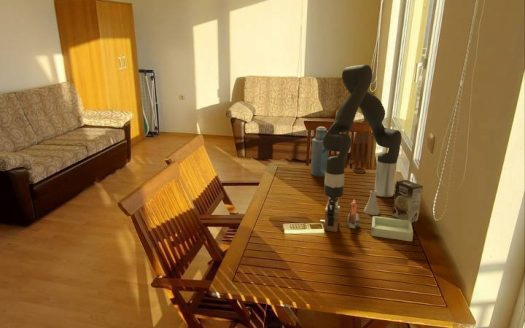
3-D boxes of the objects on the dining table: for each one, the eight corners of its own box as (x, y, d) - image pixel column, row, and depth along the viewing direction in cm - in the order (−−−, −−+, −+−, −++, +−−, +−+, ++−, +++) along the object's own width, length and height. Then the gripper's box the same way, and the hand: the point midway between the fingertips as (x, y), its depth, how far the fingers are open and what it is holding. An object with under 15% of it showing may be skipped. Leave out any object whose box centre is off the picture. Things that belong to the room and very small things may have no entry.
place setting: (341, 177, 216) (342, 167, 214) (347, 168, 233) (348, 159, 232) (371, 181, 209) (372, 171, 208) (375, 172, 227) (376, 162, 225)
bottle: (317, 174, 219) (320, 124, 211) (330, 178, 212) (333, 127, 203) (306, 177, 213) (309, 126, 205) (319, 181, 206) (322, 129, 197)
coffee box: (391, 215, 161) (395, 181, 157) (401, 213, 164) (406, 179, 160) (407, 223, 153) (412, 187, 149) (418, 220, 156) (423, 185, 152)
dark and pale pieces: (321, 217, 158) (322, 206, 157) (359, 222, 154) (360, 211, 152) (319, 223, 153) (320, 212, 151) (358, 228, 148) (359, 217, 147)
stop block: (325, 224, 151) (327, 204, 149) (338, 226, 150) (339, 206, 147) (323, 230, 147) (325, 209, 144) (336, 231, 145) (338, 210, 143)
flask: (380, 216, 161) (383, 195, 158) (363, 214, 162) (365, 193, 159) (379, 209, 167) (381, 189, 165) (362, 208, 169) (364, 188, 166)
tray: (371, 223, 153) (372, 215, 153) (410, 228, 149) (411, 220, 148) (371, 235, 142) (371, 227, 142) (412, 241, 138) (413, 233, 137)
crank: (348, 217, 153) (350, 192, 150) (359, 218, 152) (361, 193, 149) (345, 229, 142) (347, 202, 139) (357, 231, 141) (359, 204, 138)
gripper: (327, 177, 151) (324, 214, 155) (321, 187, 137) (319, 229, 142) (345, 178, 148) (342, 217, 153) (342, 190, 135) (338, 231, 140)
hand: (331, 222), depth 148 cm, fingers closed on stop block, 5 cm apart
